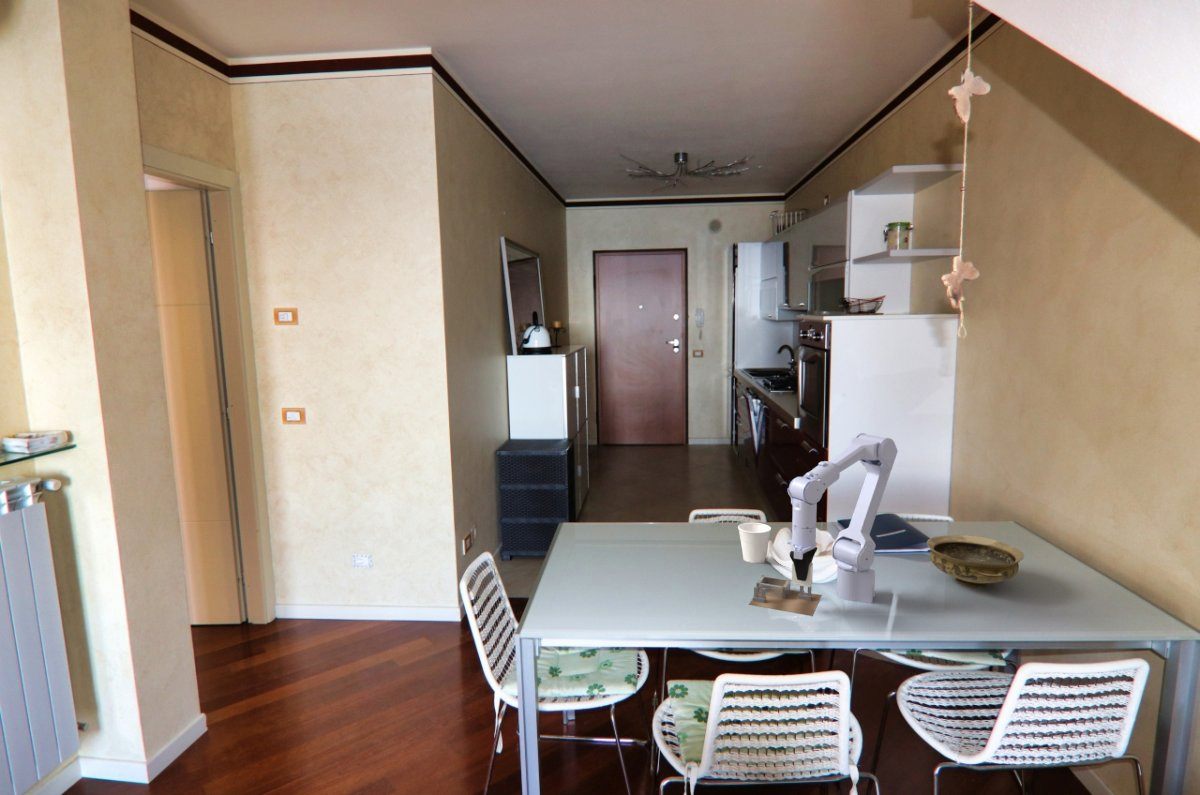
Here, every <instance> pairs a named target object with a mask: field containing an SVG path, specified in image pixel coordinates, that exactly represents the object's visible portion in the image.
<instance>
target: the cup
mask: <svg viewBox="0 0 1200 795" xmlns="http://www.w3.org/2000/svg"><path fill="white" fill-rule="evenodd" d="M737 529H738V532H739V539H740V545H741V546H740V547H741V550H742V551H741V552H742V558H743V561H744V562H747V563H752V564H764V563H765V561H766V555H767V549H768V545H769V539H770V535H771V530H772V527H771V526H770V525H769V524H765V523H760V522H744V523H740V524H739V525H738V526H737Z"/></svg>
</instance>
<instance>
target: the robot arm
mask: <svg viewBox="0 0 1200 795" xmlns="http://www.w3.org/2000/svg"><path fill="white" fill-rule="evenodd" d="M898 452H899V451H898V447H897V445H896V443H895V441H894V439H892V438H890V437H882V436H876V435H871V434H866V433H864V432H860V433H858V434H856V435H855V436H854V437H853V438H851V439H850V442H849V445H848V446H847V447H846V448H845V449H843V450H842V451H841V452H840V453H839V454H838V455H836V457H835V458H834V459H832V460H831V461H826V460H824V461H820V462H818V464H817V466H815V467H813V468H812V470H810V471H808V472H806V473H805V474H804V475H803V476H796V477H795V478H793V479H792V480H791V481H790V483H789V486H788V488H787V493H788V494H787V495H789V497H790V504H791V505H792V519H791V520H792V521H791V522H792V523H791V524H792V527H791V528H792V529H791V532H792V533H791V538H789V539H787V542H786V544H787V545H791V547H792V549H793V550H791V551H790V552H789V557H790V559H791V561H792V564H794V567H795V572H796V577H797V580H801V581H806V579H807V575H808V569H809V565H810V563H813V560H814V557H815V554H816V553H817V551H818V547H817V508H818V507H817V506H818V505H817V503H818V502H820V500H821V499H822V497H823V494H824V493H825V491H826V490H827V489H828V488H829V487H831V486H832V485H833V484H834V483H836V482H838V480H839V479H840V475H841V473H842V472H843V471H845V470H846V469H848V468H849V467H852V466H853V465H855V464H856V463H857V462H859V461H860V463H861V464H862V466H864V468H865V469H866V476H865V478H864V481H863V485H862V487H861V490H860V493H859V497H858V498H857V502H856V505H855V508H854V511H853V514H852V517H851V520H850V522H849V525H848V527H847V528H845V529H843V530H840V531H839V532H838V535H837V536H836V539H835V540H834V541H833V543H832V545H831V549H830V552H831V553H830V555H831V557H832V558H833V559H834V560H835V565H837V569H836V570H837V573H836V595H837V597H838V598H840V599H841V600H844V601H849V602H861V603H866V604H873V601H874V599H875V597H876V591H875V589H876V588H875V584H876V582H875V581H876V570H875V569H872V568H871V566H872V565H873V564H874V560H875V550H876V547H877V546H876V543H875V541H874V540H873V538H872V537H871V535H870V534H871V531H872V528H873V526H874V522H875V521H876V520H875V519H876V516H877V514H878V510H879V508H880V506H881V505H880V504H881V502H882V498H883V496H884V492H885V489H886V487H887V484H888V481H889V477H890V475H891V471H892V470H893V466H894V463H895V460H896V458H897V454H898ZM855 541H856V542H855Z"/></svg>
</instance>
